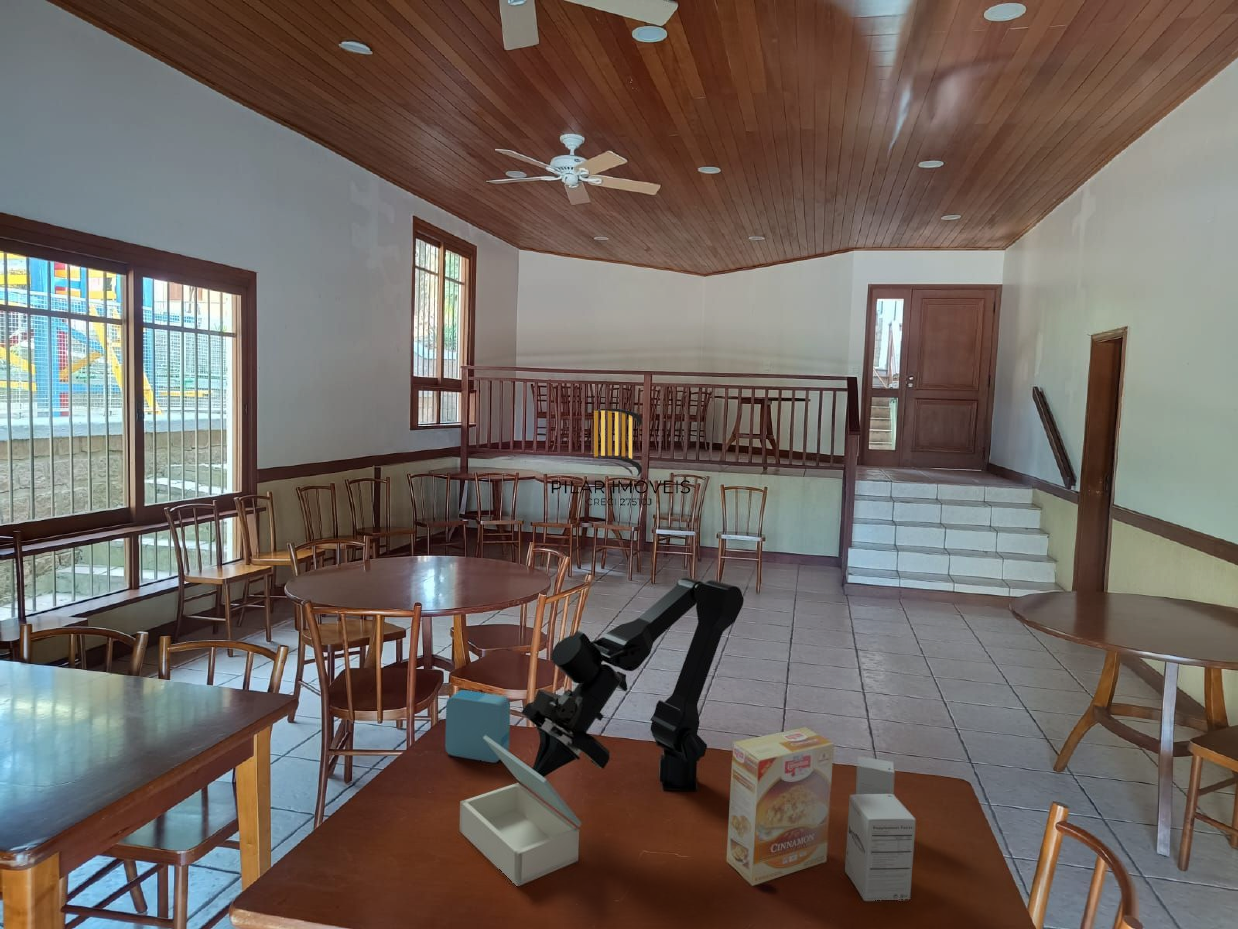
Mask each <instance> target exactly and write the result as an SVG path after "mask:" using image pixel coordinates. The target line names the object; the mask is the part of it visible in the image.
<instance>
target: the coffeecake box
mask: <svg viewBox="0 0 1238 929" xmlns="http://www.w3.org/2000/svg"><path fill="white" fill-rule="evenodd" d="M834 746H835V744H834V742H832V741H830V740H829V739H827V738H825V737H824V736H822V735H820V734H817V732H815V731H813V730H812V729H809V728H808V727H806V726H804V727H801V728H796V729H791V730H786V731H780V732H776V733H771V734H767V735H761V736H758V737H757V736H756V737H751V738H747V739H743V740H737V741H732V756H731V772H730V775H731V776H730V789H729V790H730V792H729V793H730V794H729V809H728V810H729V811H728V826H727V843H726V844H727V846H726V847H727V848H726V862H727V864H729V865H730V866H731V867H732V868H733V869H735V870H736V872H738V873H739V875H741V877H742V878H743V879H744V880H746V882H747V883H749V884H750V885H751V886H752V887H753V886H756V885H761V884H763V883H766V882H768V881H772V880H775V879H777V878H780V877H781V878H782V877H783V876H784V877H785V876H786V875H789V874H792V873H795V872H799V871H802V870H805V869H808V868H813V867H815V866H817V865H820V864H824V863H826V862H827V857H828V839H829V837H828V836H829V824H830V810H831V808H830V807H831V794H832V791H831V790H832V779H833V764H834V763H833V761H834Z"/></svg>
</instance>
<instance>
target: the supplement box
mask: <svg viewBox="0 0 1238 929" xmlns="http://www.w3.org/2000/svg"><path fill="white" fill-rule="evenodd" d="M848 801H849V804H848V817H847V833H846V849H845V850H846V851H845V864H844V872H845V874H846V875H847V876H848V877H849V879H850V881H851V882H852V883H853V885H854V886H855V888H856V890H857V891H858V893H859V895H860V896H861V898H862V900H863V901H864V902H878V901H877V900H880V901H879V902H882V901H881V900H898V901H906V900H905V899H908V900H907V901H909V899H910V900H911V889H912V878H913V877H912V874H913V861H914V849H915V848H914V847H915V838H916V837H915V836H916V820H917V819H916V817H915V816H914V815H913V814H912V813H911V812H910V811H909V810H908V809H907V808H906V806H905V805H904V804H903V803H902V802H901V801H900V800H899V799H898V798H897V796H896V795H895V794H856V793H855V794H854V793H853V794H850V795H849V800H848ZM899 899H900V900H899ZM901 899H903V900H901ZM875 900H876V901H875Z"/></svg>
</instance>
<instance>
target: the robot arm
mask: <svg viewBox="0 0 1238 929" xmlns="http://www.w3.org/2000/svg"><path fill="white" fill-rule="evenodd" d="M744 599H745V598H744V596H743V593H742V591H741V589H740V587H738V586H736V585H732V584H729V583H724V582H720V581H717V580H714V579H710V580H708V581H706V582H703V581H701V580H697V579H694V578H689V577H683V578H680V579H679V580H678V581H677V582H676V585H675V586H674V587H673V588H672V589H671V590H670V591H668V592H667V593H666V594H664V595H663V596H662V597H660V599H659V600H657V601H656V603H654V604H652V606H651V607H649V608H648V609H647V610H646V611H645V612H644V613H643V614H641V615H640V616H639V617H637V618H636V619H634V620H632V621H629V622H625V623H622V624H619V625H617V626H616V627H614V628H612V629H611V630H609V631H607V632H606V633H605V634H604V635H603V636H602V637H600V638H598V639H596V640H593V641H591V640H590V639H589V637H588V635H587V634H585V632H583V631H580V630H576V631H575V632H574V633H573V635H569V636H567V637H565V638H563V639H562V640H560V641H559V642H557V643H556V644H555V645H554V647H553V650H552V651H551V662H552V663H553V664H554V665H555V666H556V667H557V668H558V669H560V671H561V672H563V673H564V675H565V676H567V677H568V679H570V680H571V682H573V683H575V684H577V685H576V687H575V688H574V689H573V691H572V690H571V689H567V690H565V691H564V692H563V693H562V695H561V694H558V693H556V692H552V691H548V690H545V689H541V688H538V689H537V693H536V694H535V697H534V699H533V701H532V702H527V703H526V705H525V706H524V708H523V709H522V711H521V712H520V713H521V714H522V715H523V716H524V717H526V718H527V719H528V720H529V721H530V722H531V723H532V724H534V726H536V731H538V734H539V745H538V751H537V754H536V757H535V760H534V764H533V766H532V769H533V770H534V771H536V772H537V773H538V774H540V775H541V776H543V777H544V778H546V777H547V776H548V775H550V774H551V773H553V772H554V771H556V770H558V769H559V768H561V767H564V766H566V765H568V764H570V763H572V762H573V761H575V760H577V761H579V760H581V757H580V756H579V755H580V754H581V753H583V754H585V755H586V756H587V757H588V758H589V759H590V760H591V763H592V764H593V765H595V766H597V767H598V768H600V769H601V770H604V769H605V768H606V766H607V764H608V762H610V759H611V758H610V757H611V756H610V755H611V754H610V753H611V752H610V750H609V749H607V748H606V747H605V746H604V744H602V743H601V742H600V741H599V740H598V739H597V738H595V737H594V736H592V735H591V734H590V733H587V732H588V731H589V730H590V729H591V726H592V725H593V723H594V722H595V721H596V720H597V721H600V722H601V721H603V718H604V716H605V715H604V714H603V713H602V711H603V709H604V707H605V706H606V705H607V703H608V702H609V700H610V698H611V697H612V695H613V694H614V693H615V691H616V690H617V689H620V690H621V691H623V692H627V690H628V683H627V675H626V673H623V672H620V671H619V670H618V671H616V670H615V669H614V668H613V667H615V668H619V669H621V670H623V671H626V672H634V671H636V670H637V669H639V668H640V667H641V665H642V664H643V663H644V662H645V660H646V659H647V658H648V657H649V656H650V654H651V652H652V648H653V645H654V643H656V641H657V640H658V638H660V637H661V636H662V635H663V634H664V633H665V632H666V631H667V630H668V629H670V628H671V627H672V626H673V625H674V624H675V623H676V622H677V621H679V620H680V619H681V618H682V617H683V616H684V615H686V614H687V612H689V611H690V610H692V608H694V606H695V610H696V615H697V616H696V617H697V624H696V625H697V626H696V628H695V630H694V633H693V637H692V638H691V639H692V640H691V643H690V644H689V648H688V650H687V653H686V656H685V658H684V661H683V664H682V668H681V670H680V672H679V675H678V678H677V680H676V684H675V687H674V689H673V692H672V693H671V695H670V696H669V697H668V698H667V699H665V701H663V700H658V701H657V702H656V706H655V709H654V712H653V714H652V717H650V722H651V724H650V732H651V735H652V737H653V739H654V741H655V745H656V746H657V747H658V748H659V747H660V748H661V749H662V750H663V751H662V754H660V755H659V769H658V770H659V772H658V773H659V774H658V775H659V776H658V777H659V783H661V789H662V790H664V791H679V792H680V791H681V792H683V791H684V792H697V791H698V783H697V782H698V781H697V774H698V773H697V772H698V771H697V770H698V762H699V761H700V760H701V758H704V757H705V755H706V752H707V750H708V749H707V748H708V744H707V743H706V742H705V741H704V740H703V739H702V737H700V735H698V731H699V727H700V722H701V721H700V717H699V716H700V715H699V710H698V703H699V701H700V699H701V694H702V692H703V690H704V686H705V683H706V681H707V678H708V675H709V672H710V669H711V666H712V664H713V661H714V658H715V655H716V652H717V649H718V647H719V643H720V640H721V638H722V635H723V633H724V632H725V631H726V630H727V629H728V628H729V627H731V626H732V625H733V624H734V623H735V622H736V620H737V618H738V616H739V614H740V612H741V611H742V608H743V605H744V601H745V600H744ZM603 662H604V663H607V664H602V663H603ZM612 666H613V667H612Z"/></svg>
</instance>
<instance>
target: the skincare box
mask: <svg viewBox="0 0 1238 929" xmlns="http://www.w3.org/2000/svg"><path fill="white" fill-rule="evenodd" d="M856 764H857V765H856V785H855V794H894V790H895V789H894V788H895V774H896V772H895V763H894V761H889V760H883V759H877V758H872V757H865V756H859V755H858V757H857V763H856ZM894 795H895V794H894Z"/></svg>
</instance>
